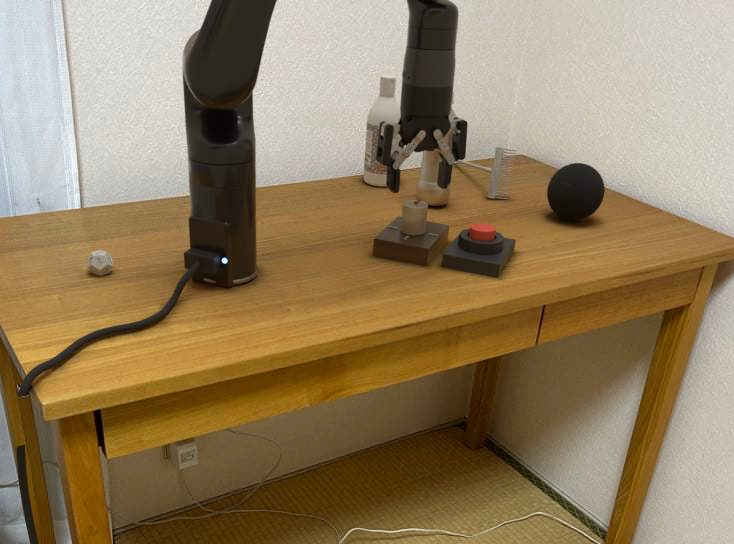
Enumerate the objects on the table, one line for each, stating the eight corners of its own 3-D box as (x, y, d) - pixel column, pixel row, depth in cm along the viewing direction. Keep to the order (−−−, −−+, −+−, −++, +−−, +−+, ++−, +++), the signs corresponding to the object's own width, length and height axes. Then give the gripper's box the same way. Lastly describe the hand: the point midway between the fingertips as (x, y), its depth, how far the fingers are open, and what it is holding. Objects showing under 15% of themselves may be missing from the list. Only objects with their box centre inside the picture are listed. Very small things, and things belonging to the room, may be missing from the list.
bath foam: (376, 189, 159) (384, 80, 149) (356, 179, 164) (362, 73, 154) (404, 184, 163) (414, 78, 152) (384, 175, 168) (392, 71, 157)
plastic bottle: (455, 203, 155) (469, 92, 144) (439, 212, 150) (452, 97, 139) (425, 196, 157) (436, 86, 147) (408, 204, 152) (418, 91, 142)
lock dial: (421, 237, 129) (424, 207, 127) (397, 232, 131) (399, 203, 128) (428, 229, 133) (431, 200, 130) (404, 225, 134) (407, 196, 131)
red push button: (491, 244, 127) (492, 233, 126) (466, 239, 128) (467, 229, 127) (496, 236, 130) (498, 225, 129) (472, 231, 131) (473, 221, 130)
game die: (117, 274, 119) (115, 255, 117) (92, 279, 117) (89, 259, 115) (109, 266, 121) (107, 246, 120) (84, 270, 119) (82, 250, 118)
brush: (459, 181, 183) (466, 137, 180) (507, 200, 158) (517, 149, 155) (443, 180, 182) (450, 135, 179) (489, 198, 157) (498, 147, 154)
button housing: (498, 278, 125) (501, 253, 123) (441, 267, 127) (444, 242, 125) (513, 252, 134) (517, 228, 132) (460, 242, 137) (463, 219, 135)
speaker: (593, 212, 154) (605, 158, 149) (602, 230, 146) (614, 174, 141) (540, 207, 155) (549, 154, 150) (545, 225, 146) (556, 169, 141)
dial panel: (427, 267, 127) (429, 247, 126) (372, 256, 130) (373, 237, 128) (447, 242, 137) (449, 224, 135) (396, 233, 139) (398, 215, 138)
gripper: (395, 87, 114) (387, 201, 123) (483, 83, 119) (469, 193, 128) (372, 76, 120) (366, 186, 128) (457, 73, 125) (446, 179, 133)
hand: (418, 189), depth 128 cm, fingers open, 8 cm apart
